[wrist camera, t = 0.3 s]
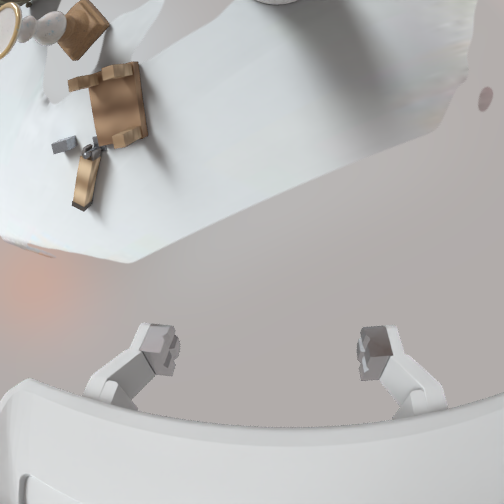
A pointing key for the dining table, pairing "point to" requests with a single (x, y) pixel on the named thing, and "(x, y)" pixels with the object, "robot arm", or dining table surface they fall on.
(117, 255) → the dining table surface
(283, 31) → the dining table surface
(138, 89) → the stool seat
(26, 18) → the candle holder
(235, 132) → the dining table surface
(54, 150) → the block
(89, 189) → the hinged leg
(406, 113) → the dining table surface
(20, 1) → the tabletop clock
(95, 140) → the hinge bracket
